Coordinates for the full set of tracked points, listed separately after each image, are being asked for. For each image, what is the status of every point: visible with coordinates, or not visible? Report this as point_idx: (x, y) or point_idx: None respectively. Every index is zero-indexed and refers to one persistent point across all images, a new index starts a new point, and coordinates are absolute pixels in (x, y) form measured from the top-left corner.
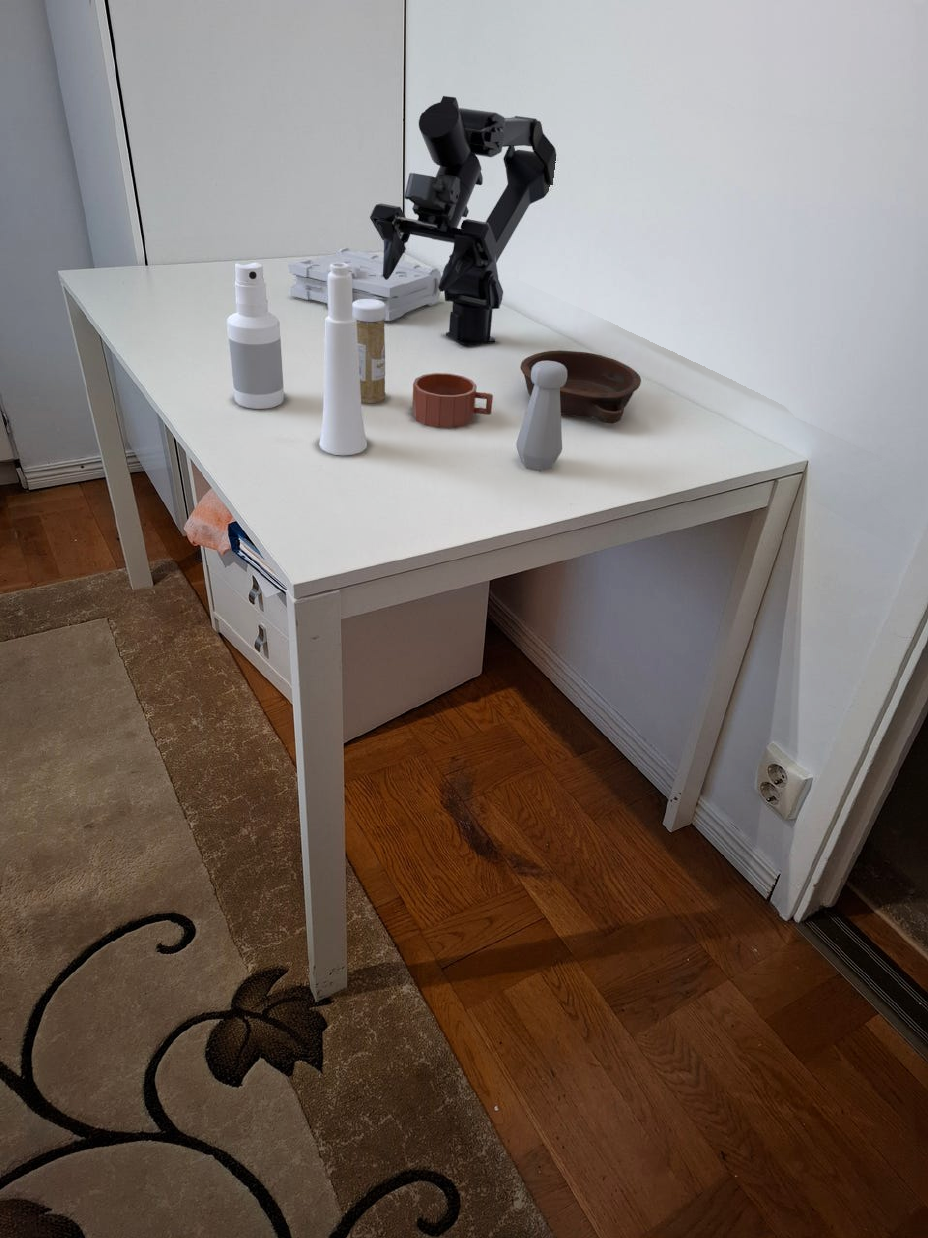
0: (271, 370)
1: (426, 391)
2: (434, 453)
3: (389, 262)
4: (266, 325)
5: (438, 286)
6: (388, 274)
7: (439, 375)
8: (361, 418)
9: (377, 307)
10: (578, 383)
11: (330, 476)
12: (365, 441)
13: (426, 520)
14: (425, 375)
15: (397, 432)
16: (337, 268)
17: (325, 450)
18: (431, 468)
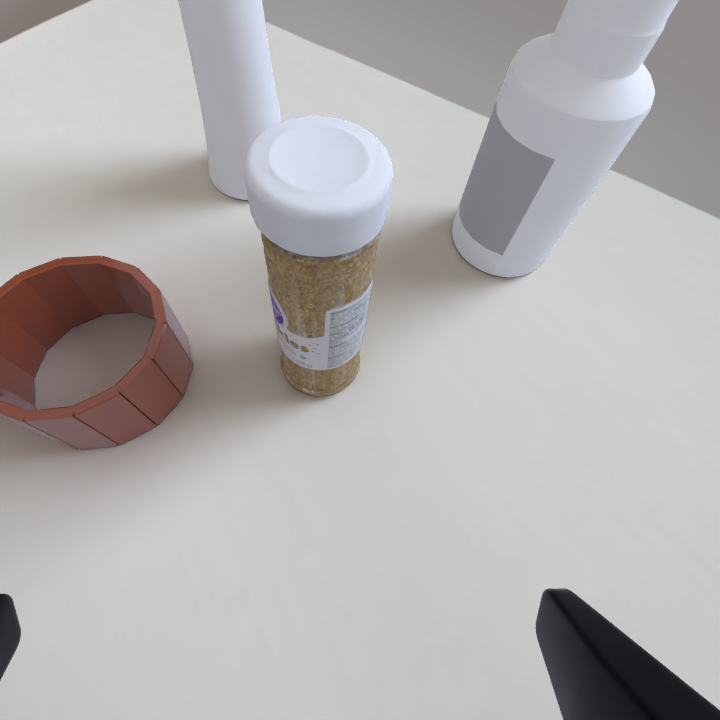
0: (474, 162)
1: (106, 264)
2: (81, 214)
3: (627, 712)
4: (517, 53)
5: (2, 597)
6: (556, 658)
7: (106, 392)
8: (203, 122)
9: (259, 137)
10: None
11: None
12: (209, 169)
13: (43, 69)
14: (145, 357)
15: (183, 251)
16: None
17: None
18: (72, 172)
